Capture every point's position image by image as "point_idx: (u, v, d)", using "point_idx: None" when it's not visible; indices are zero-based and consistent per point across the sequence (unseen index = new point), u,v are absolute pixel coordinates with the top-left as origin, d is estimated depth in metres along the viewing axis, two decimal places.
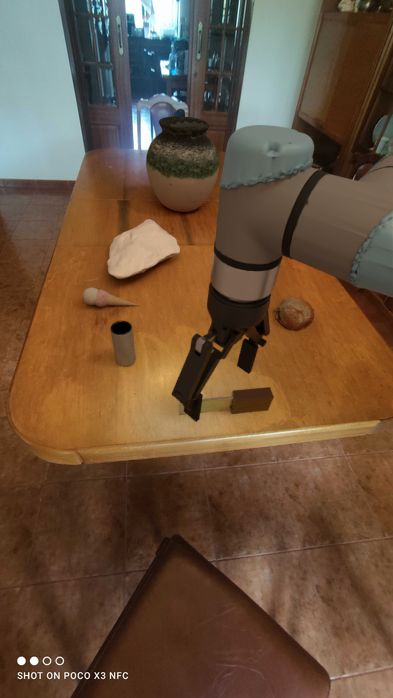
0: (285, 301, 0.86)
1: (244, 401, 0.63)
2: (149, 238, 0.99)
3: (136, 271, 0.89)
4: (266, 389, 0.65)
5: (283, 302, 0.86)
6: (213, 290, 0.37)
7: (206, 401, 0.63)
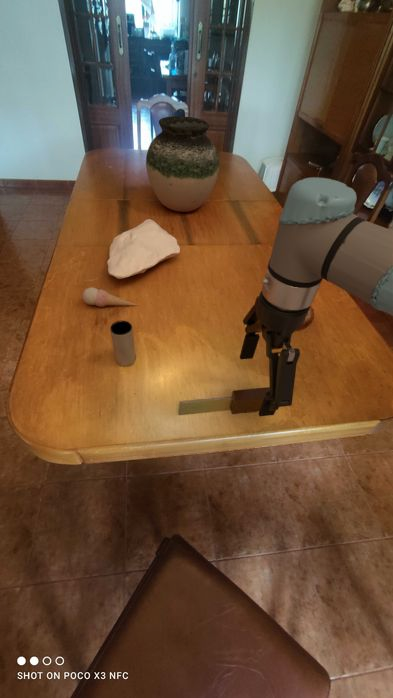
0: None
1: (244, 401, 0.63)
2: (149, 238, 0.99)
3: (136, 271, 0.89)
4: (266, 389, 0.65)
5: None
6: (280, 311, 0.44)
7: (206, 401, 0.63)
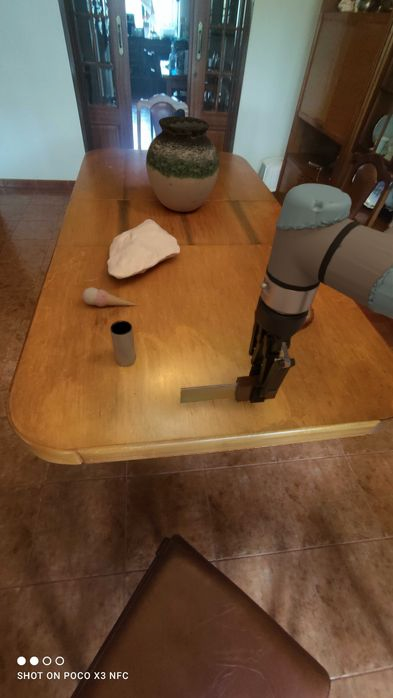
0: None
1: (249, 388, 0.60)
2: (149, 238, 0.99)
3: (136, 271, 0.89)
4: None
5: None
6: (279, 315, 0.45)
7: (209, 388, 0.59)
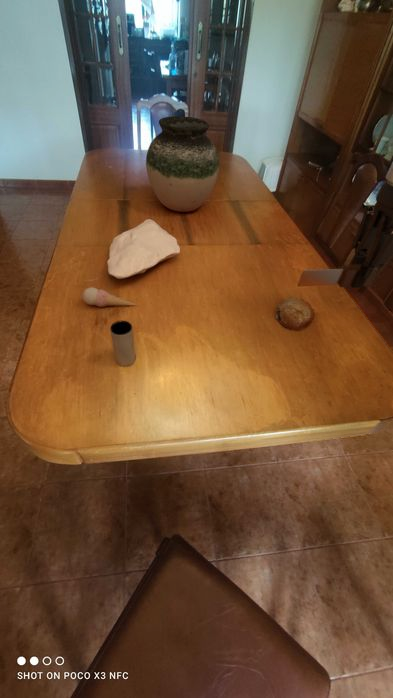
0: (285, 301, 0.86)
1: (354, 272, 0.76)
2: (149, 238, 0.99)
3: (136, 271, 0.89)
4: None
5: (283, 302, 0.86)
6: None
7: (324, 271, 0.76)
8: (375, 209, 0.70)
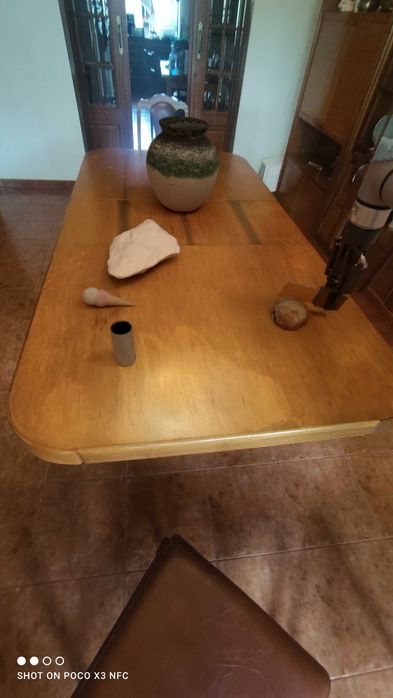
0: (280, 301, 0.86)
1: (329, 295, 0.83)
2: (149, 238, 0.99)
3: (136, 271, 0.89)
4: None
5: (278, 302, 0.86)
6: (363, 230, 0.68)
7: (304, 287, 0.81)
8: (342, 242, 0.76)
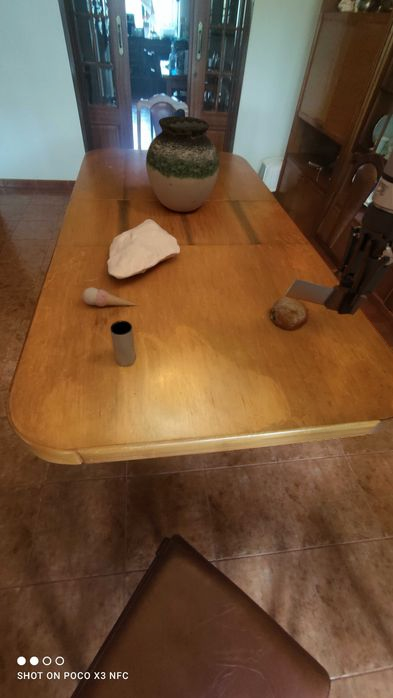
0: (280, 301, 0.86)
1: (345, 295, 0.69)
2: (149, 238, 0.99)
3: (136, 271, 0.89)
4: None
5: (278, 302, 0.86)
6: (391, 214, 0.55)
7: (315, 286, 0.67)
8: (361, 231, 0.63)
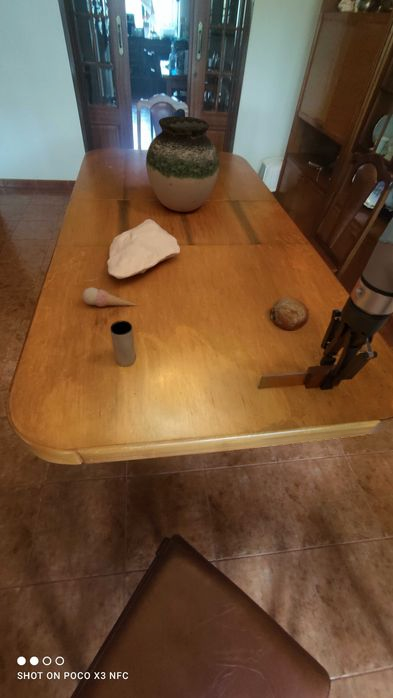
0: (280, 301, 0.86)
1: (320, 376, 0.69)
2: (149, 238, 0.99)
3: (136, 271, 0.89)
4: None
5: (278, 302, 0.86)
6: (369, 315, 0.54)
7: (286, 376, 0.69)
8: (342, 318, 0.63)
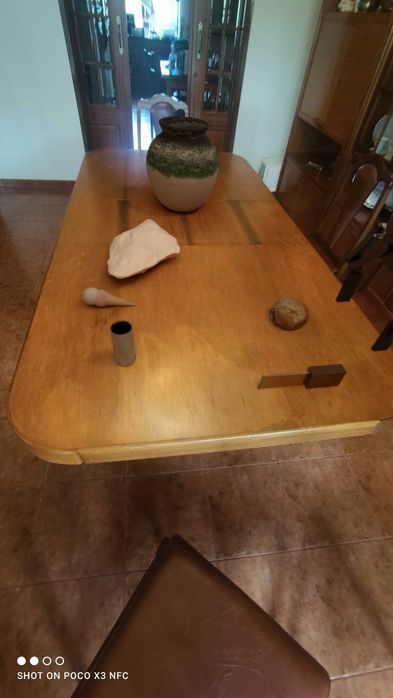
0: (280, 301, 0.86)
1: (320, 376, 0.69)
2: (149, 238, 0.99)
3: (136, 271, 0.89)
4: (338, 365, 0.71)
5: (278, 302, 0.86)
6: None
7: (286, 376, 0.69)
8: (383, 240, 0.51)
